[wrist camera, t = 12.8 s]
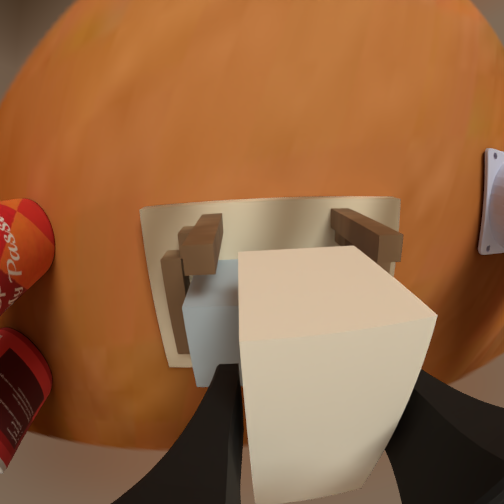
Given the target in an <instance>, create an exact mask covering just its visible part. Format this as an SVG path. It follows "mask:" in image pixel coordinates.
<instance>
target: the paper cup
mask: <svg viewBox="0 0 504 504" xmlns="http://www.w3.org/2000/svg"><path fill="white" fill-rule="evenodd" d="M54 253H55V239H54V233H53V229H52V226H51V223H50V221H49V219H48V217H47V215H46V213H45V212H44V210H43V209H42V208H41V207H40V206H39V205H38V204H37V203H35V202H34V201H32V200H30V199H12V200H6V201H0V315H1V314H2V313H3V312H4V311H5V310H6V309H8V308H9V307H10V306H11V305H12V304H13V303H14V302H15V301H16V300H17V299H18V298H19V297H20V296H21V295H22V294H23V293H24V292H26V291H27V290H28V289H29V288H30V287H31V286H32V285H33V284H34V283H35V282H36V281H38V280H39V279H40V278H41V277H42V276H43V275H44V274H45V273H46V272H47V271H48V269H49V268H50V266H51V264H52V262H53V258H54Z"/></svg>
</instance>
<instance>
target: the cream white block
mask: <svg viewBox="0 0 504 504" xmlns="http://www.w3.org/2000/svg"><path fill="white" fill-rule="evenodd" d="M238 296H239V345H240V357H241V369H242V380H243V392H244V402H245V413H246V423H247V433H248V443H249V453H250V462H251V471H252V481H253V490H254V498H255V504H281V503H290V502H297V501H304V500H310V499H316V498H322V497H327V496H332V495H336V494H341V493H345V492H349V491H353V490H357V489H361V488H362V486H363V485H364V483H365V482H366V480H367V479H368V477H369V475H370V473H371V472H372V471H373V469H374V467H375V466H376V464H377V462H378V460H379V458H380V457H381V455H382V453H383V452H384V450H385V448H386V446H387V444H388V442H389V440H390V438H391V436H392V435H393V433H394V431H395V429H396V427H397V424H398V422H399V420H400V418H401V416H402V414H403V412H404V409H405V407H406V405H407V403H408V400H409V398H410V396H411V393H412V391H413V388H414V386H415V383H416V381H417V378H418V375H419V373H420V370H421V367H422V365H423V362H424V359H425V356H426V353H427V350H428V347H429V344H430V340H431V337H432V334H433V330H434V327H435V323H436V320H437V316H438V315H437V314H436V313H434V312H433V311H432V310H431V309H430V308H429V307H428V306H427V305H425V304H424V303H423V302H422V301H421V300H420V299H418V298H417V297H416V296H415V295H414V294H413V293H412V292H410V291H409V290H408V289H407V288H406V287H404V286H403V285H402V284H401V283H400V282H399V281H397V280H396V279H395V278H394V277H392V276H391V275H390V274H389V273H388V272H386V271H385V270H384V269H383V268H382V267H380V266H379V265H378V264H377V263H375V262H374V261H373V260H372V259H370V258H369V257H368V256H367V255H365V254H364V253H363V252H361V251H360V250H359V249H358V248H356V247H355V246H335V247H317V248H298V249H280V250H262V251H243V252H238Z"/></svg>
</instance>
